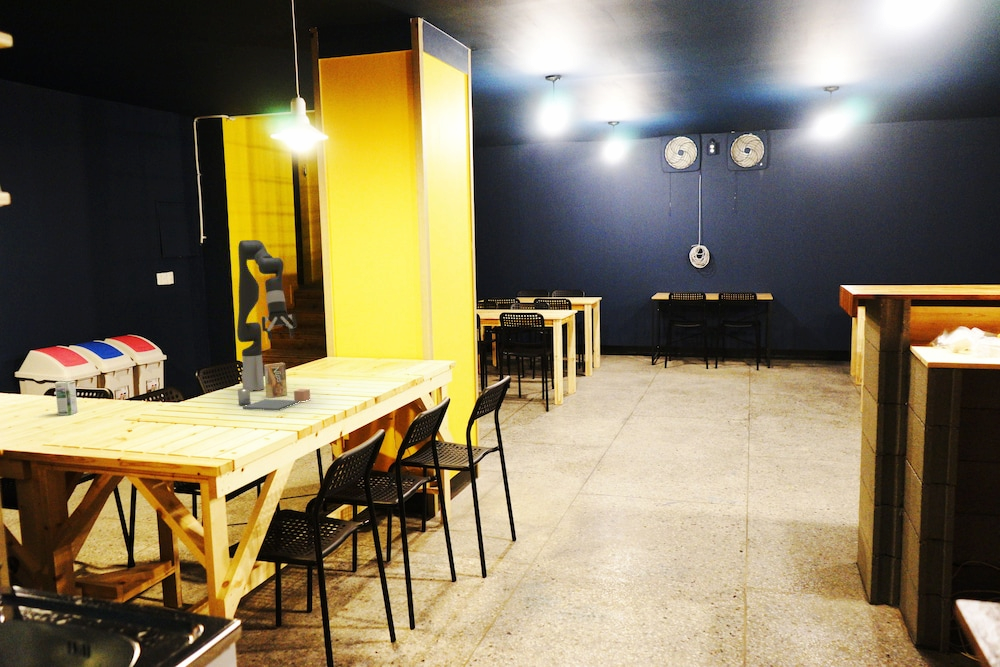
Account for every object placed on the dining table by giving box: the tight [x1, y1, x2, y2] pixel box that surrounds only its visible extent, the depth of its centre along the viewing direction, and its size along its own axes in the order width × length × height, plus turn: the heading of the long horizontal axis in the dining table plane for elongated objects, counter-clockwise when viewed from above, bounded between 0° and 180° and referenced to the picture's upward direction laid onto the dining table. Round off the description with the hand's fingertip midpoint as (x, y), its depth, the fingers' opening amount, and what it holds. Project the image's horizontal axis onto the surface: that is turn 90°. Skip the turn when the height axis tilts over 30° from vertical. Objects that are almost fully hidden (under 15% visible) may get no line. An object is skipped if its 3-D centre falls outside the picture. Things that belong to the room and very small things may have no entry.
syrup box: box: [54, 380, 78, 416], centre depth 326 cm, size 6×6×14 cm
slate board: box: [242, 398, 300, 411], centre depth 331 cm, size 18×16×1 cm
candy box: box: [263, 362, 288, 398], centre depth 352 cm, size 9×4×15 cm, turn 129°
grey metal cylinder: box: [237, 387, 252, 407], centre depth 334 cm, size 5×5×7 cm
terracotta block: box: [293, 388, 311, 401], centre depth 339 cm, size 5×5×5 cm
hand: (281, 339), depth 322 cm, fingers open, 8 cm apart
